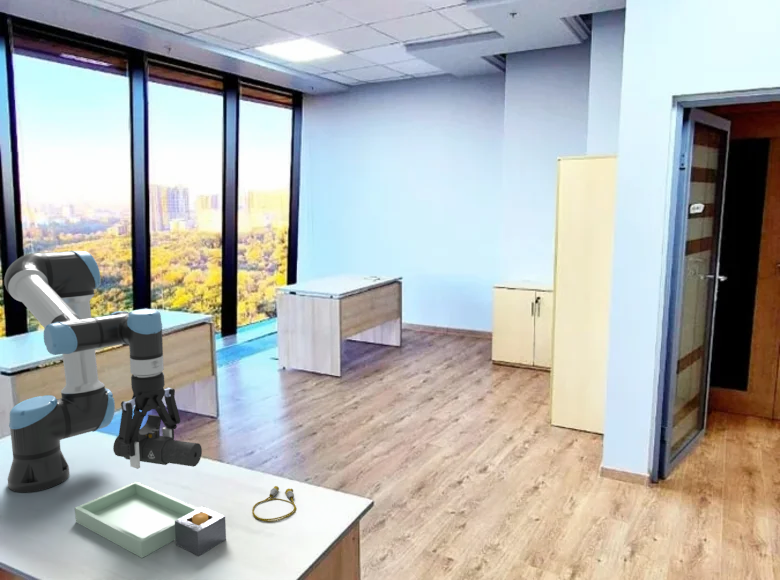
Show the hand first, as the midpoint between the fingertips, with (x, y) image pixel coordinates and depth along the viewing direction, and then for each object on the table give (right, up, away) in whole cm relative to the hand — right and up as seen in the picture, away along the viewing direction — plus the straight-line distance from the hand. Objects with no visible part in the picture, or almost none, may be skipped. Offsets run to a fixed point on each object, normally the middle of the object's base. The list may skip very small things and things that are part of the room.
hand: (152, 459), depth 149 cm
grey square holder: (+15, -17, -9) cm, 24 cm away
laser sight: (+1, -1, 0) cm, 1 cm away
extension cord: (+30, -15, +8) cm, 34 cm away
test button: (+15, -15, -9) cm, 24 cm away
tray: (-3, -15, -1) cm, 16 cm away
